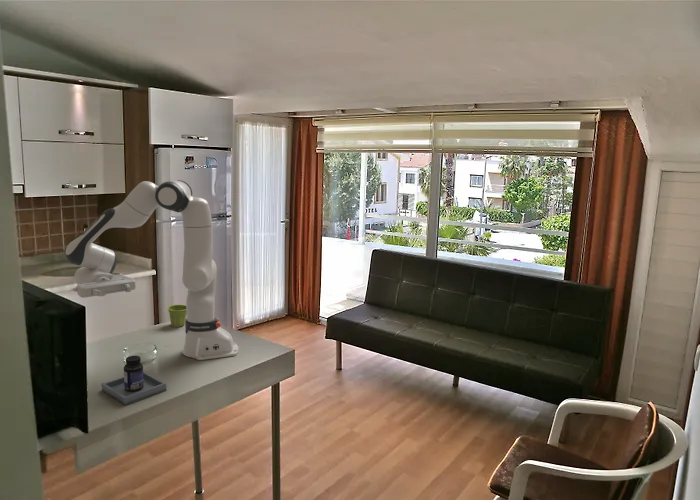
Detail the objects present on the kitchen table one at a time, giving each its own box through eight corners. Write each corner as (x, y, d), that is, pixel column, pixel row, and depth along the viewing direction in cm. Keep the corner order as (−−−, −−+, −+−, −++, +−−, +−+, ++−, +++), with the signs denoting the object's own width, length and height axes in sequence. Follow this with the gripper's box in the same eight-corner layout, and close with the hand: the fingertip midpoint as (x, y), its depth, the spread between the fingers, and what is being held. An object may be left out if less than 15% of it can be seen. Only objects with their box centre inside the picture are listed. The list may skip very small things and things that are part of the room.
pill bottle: (146, 385, 178) (146, 355, 176) (138, 392, 172) (137, 362, 170) (129, 383, 179) (128, 353, 176) (120, 391, 173) (119, 360, 170)
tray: (142, 377, 186) (142, 370, 185) (166, 390, 177) (166, 383, 176) (101, 390, 174) (101, 383, 174) (125, 405, 165) (124, 398, 165)
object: (190, 321, 247) (189, 304, 246) (186, 328, 238) (186, 310, 236) (169, 321, 246) (169, 304, 244) (165, 328, 237) (165, 310, 235)
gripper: (70, 280, 187) (85, 287, 178) (125, 272, 202) (142, 279, 193) (71, 296, 188) (86, 305, 179) (126, 288, 203) (142, 295, 194)
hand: (116, 291), depth 186 cm, fingers open, 8 cm apart
